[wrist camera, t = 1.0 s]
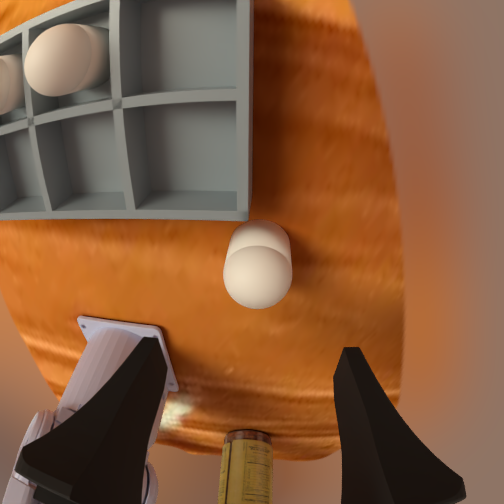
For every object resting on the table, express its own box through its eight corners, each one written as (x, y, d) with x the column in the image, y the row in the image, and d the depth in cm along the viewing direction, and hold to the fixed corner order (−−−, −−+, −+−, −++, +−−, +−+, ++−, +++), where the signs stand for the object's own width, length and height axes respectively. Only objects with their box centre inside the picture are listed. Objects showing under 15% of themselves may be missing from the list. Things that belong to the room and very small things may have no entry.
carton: (252, 196, 17) (248, 221, 14) (20, 200, 18) (-5, 220, 15) (254, -14, 10) (250, -32, 8) (-2, 51, 11) (-33, 56, 9)
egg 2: (120, 82, 13) (70, 93, 9) (66, 94, 13) (12, 110, 9) (119, 19, 11) (68, 10, 7) (64, 36, 11) (8, 38, 7)
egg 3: (287, 271, 20) (290, 324, 16) (230, 268, 20) (220, 321, 16) (292, 220, 18) (297, 268, 14) (229, 218, 18) (216, 265, 14)
